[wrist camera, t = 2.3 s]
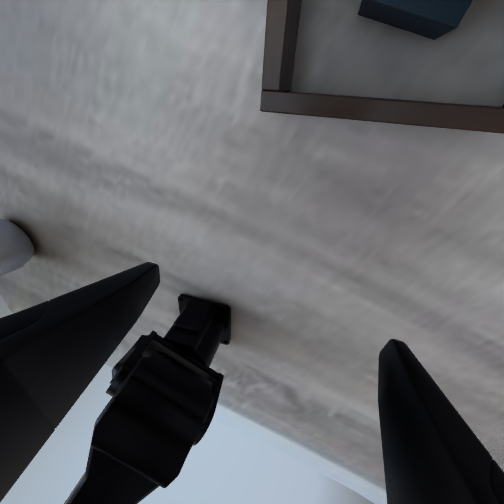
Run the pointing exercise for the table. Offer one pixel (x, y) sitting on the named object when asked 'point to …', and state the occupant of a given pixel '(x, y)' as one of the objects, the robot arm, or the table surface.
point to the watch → (417, 14)
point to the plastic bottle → (13, 247)
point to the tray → (351, 107)
